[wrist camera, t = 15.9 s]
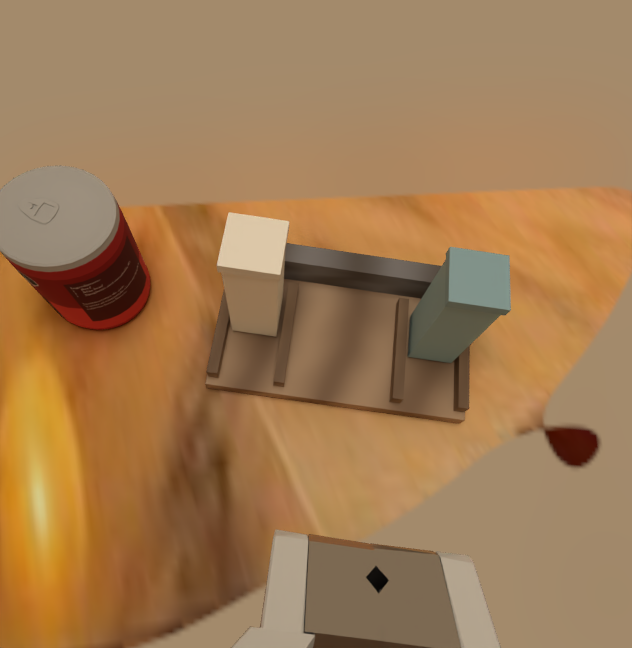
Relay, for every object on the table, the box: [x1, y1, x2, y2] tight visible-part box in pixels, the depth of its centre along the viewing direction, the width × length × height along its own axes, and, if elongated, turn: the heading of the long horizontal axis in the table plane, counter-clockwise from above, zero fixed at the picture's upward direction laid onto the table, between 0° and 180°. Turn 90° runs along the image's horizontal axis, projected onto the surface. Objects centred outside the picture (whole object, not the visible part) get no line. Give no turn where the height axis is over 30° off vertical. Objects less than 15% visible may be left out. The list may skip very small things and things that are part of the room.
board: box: [205, 243, 470, 423], centre depth 41 cm, size 20×12×4 cm, turn 83°
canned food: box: [0, 166, 150, 330], centre depth 38 cm, size 8×8×11 cm
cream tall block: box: [217, 212, 289, 337], centre depth 37 cm, size 4×4×11 cm
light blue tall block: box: [408, 247, 511, 363], centre depth 37 cm, size 4×4×11 cm
